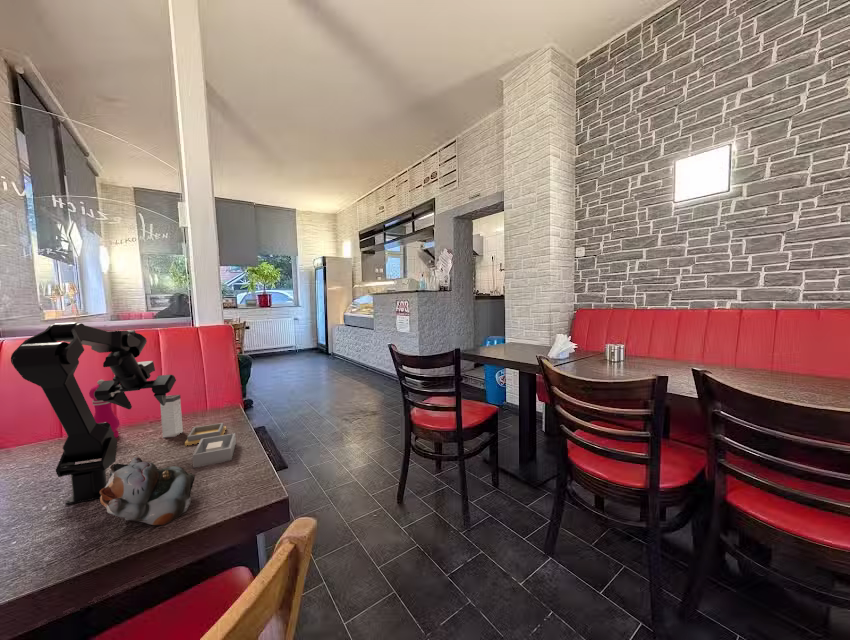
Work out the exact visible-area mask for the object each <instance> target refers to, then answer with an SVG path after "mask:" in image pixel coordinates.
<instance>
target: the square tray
mask: <svg viewBox="0 0 850 640" xmlns="http://www.w3.org/2000/svg"><path fill="white" fill-rule="evenodd" d="M225 430H227V426H224V422H219V423H213V424H208V425H207V424H206V425H201V426H194V427H192V429H191V431H190V432H189V434H188V435H187V439H186V440H185V441H184V446H185V447H187V445H188V446H192V444H194V445H198V444H197V443H199V442H200V440H201V439H203V438H209V437H215V436H221V435H225V434H224V433H226V431H225Z"/></svg>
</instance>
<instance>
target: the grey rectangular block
mask: <svg viewBox="0 0 850 640" xmlns="http://www.w3.org/2000/svg"><path fill="white" fill-rule="evenodd" d="M181 403H182V401H181V394H174V395H173V394H171V395H166V403H165V405H164V406H163V405H162V404H160V403H159V404H160V405H159V407H160V420H161V432H162V438H174V437H175V438H176V437H178V436H179V435H181V434H182V433H183V432H184V430H183V415H182V414H183V413H182V404H181ZM180 433H181V434H180ZM177 435H178V436H177Z"/></svg>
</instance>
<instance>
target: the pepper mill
mask: <svg viewBox="0 0 850 640" xmlns="http://www.w3.org/2000/svg"><path fill="white" fill-rule="evenodd" d="M103 381H105V380H104V379H99V380H97V381H96V383H97V384H96V385H94V386H92V387H91V388H90V389H89V392H88V396H89V397H90V398H91V399H92V401H91V402H92V404H91V405H92V406H94V415H93V417H94V419H95V421H96V423H104V422H108V423H109V424H110V426H111V429H112V431H113V432H114V437H115V438H116V439H117V438H118V437H119V430H118V428H119V427H120V424H121V423H120V419H119V418H118V416H117V415H116V414H115V413H114V411H113V409H112V403H110V402H104V401H103V400H99V401H97V399H96V398H95V397H94V392H95V391H96V389H97V388H98V387H99V386H100V385H101V383H102V382H103Z"/></svg>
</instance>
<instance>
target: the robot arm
mask: <svg viewBox="0 0 850 640" xmlns="http://www.w3.org/2000/svg"><path fill="white" fill-rule="evenodd" d="M147 342H148V340H147V338H146V337H145V336H144V335H142V334H141V333H137V332H136V330H135V329H131V330H130V329H127V330H104V329H101V328H97V327H93V326H89V325H85V324H84V323H80V322H58V323H57V322H56V323H54V324H50V325H49V326H48V327H47V328H46V329H45V330H43V331H41V332H39V333H38V334H35V335H32V337H28V338H27V339H25V340H24V341H23V342H22V343H21V344H20V345H18V347H17V348H16V349H15V350H13V352H12V353H11V357H10V362H11V364H12V366H13V368H14V369H15V370H16V372H17V373H18V375H20V377H22V378H23V380H25V381H28V382H29V383H32V384H34V385H37V386H38V387H40V388H41V389H42V391H43V393H44V395H45V397H46V398H47V400H48V402H49V404H50V406H51V408H52V409H53V411H54V413H55V414H56V417H57V419H58V420H59V422H60V424H61V426H62V428H63V430H64V432H65V433H66V435H67V437H66V440H65V442H64V444H63V446H62V450H63V452H62V454H61V456H60V458H59V461H58V464H57V466H56V468H55V472H56V475H57V477H58V478H61V477H64V476H65V477H66V476H70V482H71V493H72V495H71V496H70V497H69V498H68V499H67V500H65V502H64V505H65V506H68V505H71V504H76V503H81V502H86V501H90V500H94V499H95V500H96V499H100V497H101V495H100V493H99V491H100V490H101V489H102V488H105V486H106V485H107V483H108V482H107V472H106V470H107V469H108V468H110V467H111V466H112V465H113V464H115V462H116V460H117V459H116V458H117V449H118V448H117V447H118V440H117V438H115V437H114V432H113V431H112V429H111V426H110V424H109V423H108V422H104V423H96V421H95V419H94V415H93V413H92V411H91V409H90V407H89V405H88V401H86V398H85V397H84V394H83V392H82V389H81V388H80V386H79V384H78V381H77V380H76V378H75V372H76V370H77V368H78V366H79V363H80V361H79V358H80V357H81V355H82V354H83V353H84V351H85V348H84V346H89V347H91V350H92V351H94V352H97V353H101V354H102V353H108V355H107V356H106V357H105V360H104V362H103V364H102V367H103V368H109V369H110V370H111V372H112V374H113V375H114V376H113V377H112V379H111V380H104V381H103V382H102V383H101V385H100V386H99V387H98V388H97V389H96V391H95V392H94V397H95V398H96V399H97V401H99V400H103V401H104V402H110V403H111V404H113V405H116V406H119V407H122V408H124V409H127V410H131V409H132V408H133V405H132V403H131V401H130V400H129V398H128V396H127V395H126V392H133V391H134V392H135V391H140V390H145V389H151V392H152V394H153V397H154V398H155V399H156V400H157V401H158V403H159V404H162V405H163V406H164V405H165V403H166V396H167V394H168V393H170V392H171V390H172V389H173V387H174V385H175V383H176V381H177V379H176V377H175V375H174V374H164V375H157V377H156V379H154V380H148V379H150V378H151V374H152V373H153V372H156V367H155V364H154V360H146V361H137V359H136V358H138V357H139V356H140V354H141V353H142V351H143V350H144V347H145V346H146V344H147ZM99 459H100V460H99ZM92 460H95V461H92ZM96 460H97V461H96ZM87 461H89V462H87ZM80 462H83V463H80Z"/></svg>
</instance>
